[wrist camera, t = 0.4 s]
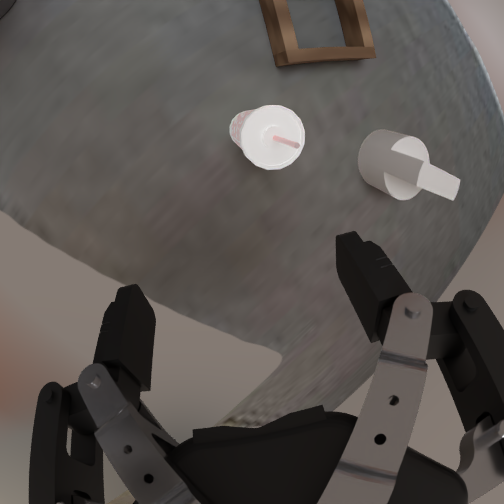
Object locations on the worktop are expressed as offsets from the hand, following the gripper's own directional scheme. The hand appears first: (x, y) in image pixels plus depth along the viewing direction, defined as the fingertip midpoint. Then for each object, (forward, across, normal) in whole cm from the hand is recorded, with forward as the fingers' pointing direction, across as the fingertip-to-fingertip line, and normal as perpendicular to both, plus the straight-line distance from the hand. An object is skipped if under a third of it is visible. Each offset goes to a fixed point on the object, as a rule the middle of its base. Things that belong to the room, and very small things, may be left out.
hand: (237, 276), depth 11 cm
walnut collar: (+29, -14, -12) cm, 34 cm away
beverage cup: (+26, -4, +1) cm, 26 cm away
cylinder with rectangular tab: (+28, -22, +10) cm, 37 cm away
